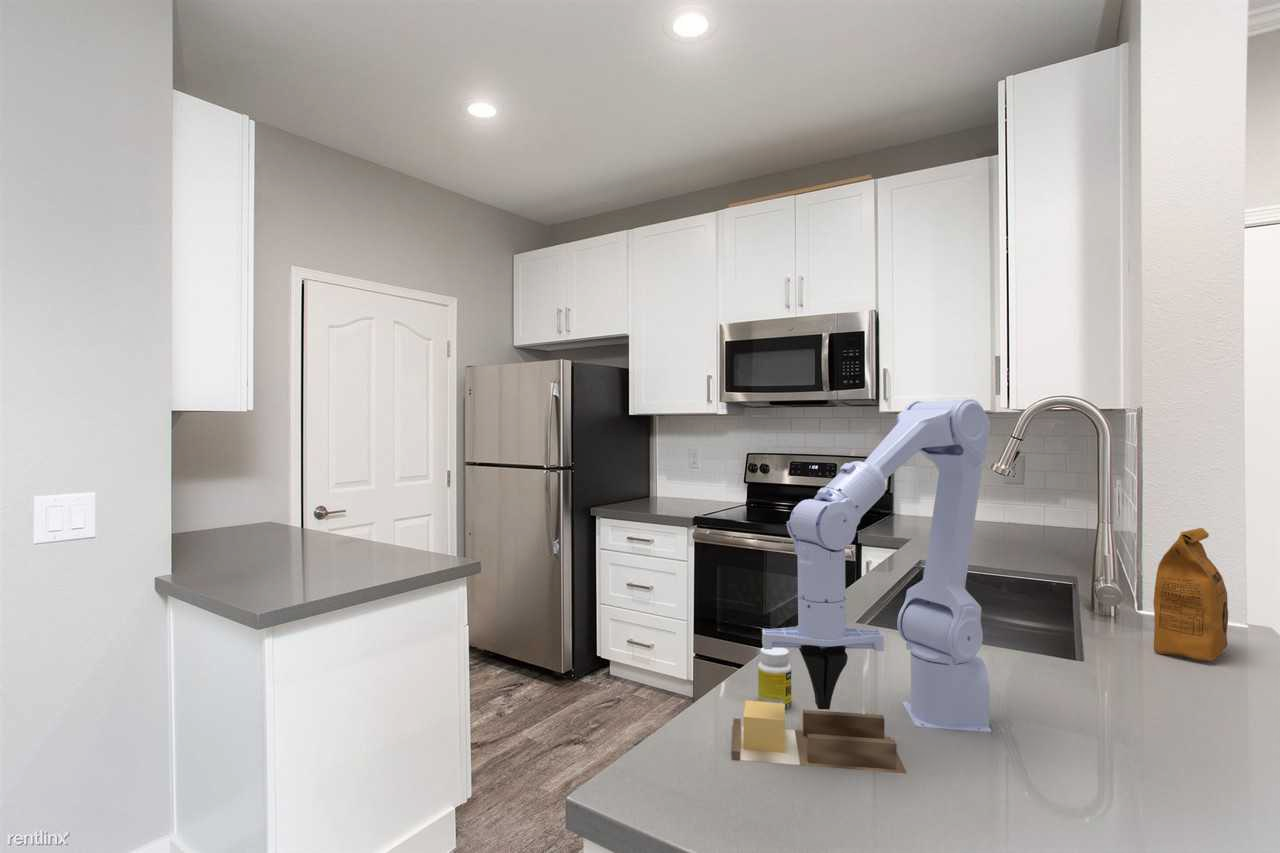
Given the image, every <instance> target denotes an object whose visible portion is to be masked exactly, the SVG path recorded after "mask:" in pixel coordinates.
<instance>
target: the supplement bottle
mask: <svg viewBox="0 0 1280 853" xmlns="http://www.w3.org/2000/svg"><path fill="white" fill-rule="evenodd" d="M789 651H790V650H789V649H787V648H773V649H764V647H763V646H762V647H761V648H760V655H759V656H760V661H759V662H758V666H757V677H758V678H757V701H760V702H772V703H784V704H785V713H786V712H788V711H790V710H791V709H792V666H791V664H790V663H789V661H790V652H789Z"/></svg>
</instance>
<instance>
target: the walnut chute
mask: <svg viewBox="0 0 1280 853" xmlns="http://www.w3.org/2000/svg"><path fill="white" fill-rule="evenodd" d="M732 723H733V724H732V736H731V737H732V740H731V742H732V743H731V760H732V761H743V762H755V763H758V762H759V763H770V764H771V763H772V764H783V765H794V766H795V765H796V766H808V767H818V768H819V767H820V768H831V769H832V768H833V769H845V770H859V771H868V772H869V771H870V772H882V773H898V774H908V773H907V770H906V768H905V765H904V763H903V762H902V759H901V757H900V756H899V753H898V751H897V749H898V748H897V742H896V740H895V739H892V737H891V736H887V735H885V716H884V714H876V713H875V714H874V713H862V712H861V713H858V712H843V711H829V710H828V711H827V710H814V709H813V710H812V709H802V730H800V729H789V728H787V729H786V728H785V753H779V752H769V751H759V750H749V749H744V725H742V719H741V718H736V717H733V720H732Z"/></svg>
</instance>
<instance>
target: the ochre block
mask: <svg viewBox="0 0 1280 853" xmlns="http://www.w3.org/2000/svg"><path fill="white" fill-rule="evenodd" d="M743 711H744V712H743V726H744V749H749V750H759V751H769V752H779V753H785V729H786V724H785V723H786V718H785V717H786V712H785V704H784V703H772V702H760V701H758V700H745V703H744V710H743Z"/></svg>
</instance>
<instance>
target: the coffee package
mask: <svg viewBox="0 0 1280 853" xmlns="http://www.w3.org/2000/svg"><path fill="white" fill-rule="evenodd" d="M1209 537H1210V535H1209V533H1208V532H1207V531H1206V530H1205V529H1204V528H1202V527H1198V528H1195V529H1189V530H1186V531H1180V535H1179V536H1178V538H1177V539H1176V540H1175V542H1174V543H1173V544H1172V545H1171V546H1170V548H1169V549H1168V550H1167V551H1166V552H1165V554H1163V556H1162V558H1161V560H1160V561H1159V564H1158V565H1157V569H1156V577H1155V585H1154V593H1153V594H1154V595H1153V603H1152V604H1153V609H1154V632H1153V633H1154V634H1153V651H1154V652H1156V653H1158V654H1160V655H1169V656H1176V657H1182V658H1186V659H1187V658H1188V659H1192V660H1197V661H1208V662H1213V661H1215V659H1217V658H1218V657H1219V656H1221V655H1222V654H1223V653H1224V652H1225V650H1226V648H1227V647H1228V625H1229V609H1228V606H1229V605H1228V603H1229V602H1228V591H1227V588H1226V584H1225V581H1224V579H1223V576H1222V574H1221V572H1220V571H1219V569H1218V568H1217V567H1216V565H1215V564H1214V563H1213V562H1212V561H1211V559H1210V558H1209V557H1208V556H1207V552H1206V550H1205V548H1204V546H1203V544H1202V542H1201V541H1203V540H1205V539H1208V538H1209Z"/></svg>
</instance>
